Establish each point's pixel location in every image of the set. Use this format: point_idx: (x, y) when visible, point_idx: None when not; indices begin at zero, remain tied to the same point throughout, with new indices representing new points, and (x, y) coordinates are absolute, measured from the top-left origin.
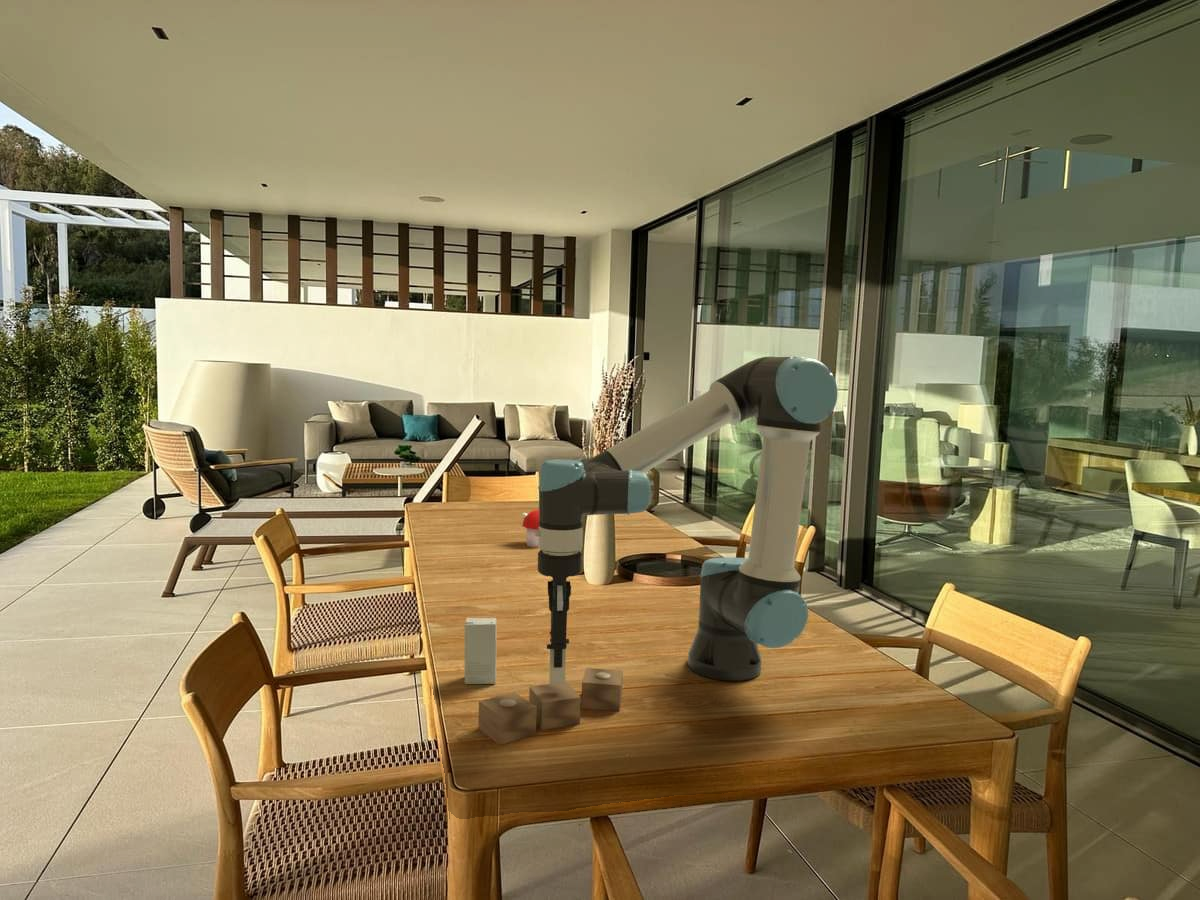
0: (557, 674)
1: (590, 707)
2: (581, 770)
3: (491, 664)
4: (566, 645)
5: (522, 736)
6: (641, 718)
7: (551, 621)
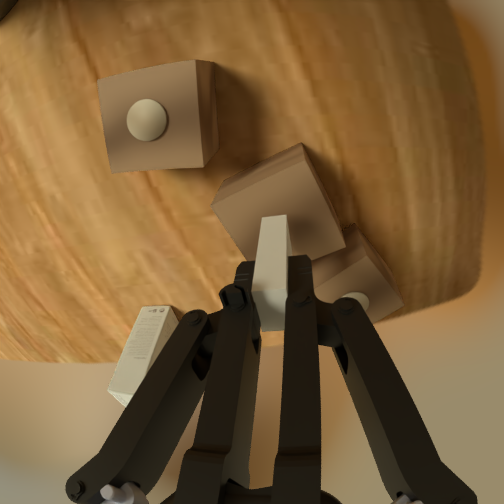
0: (289, 249)
1: (216, 127)
2: (474, 141)
3: (164, 336)
4: (353, 306)
5: (370, 244)
6: (243, 11)
7: (253, 408)
